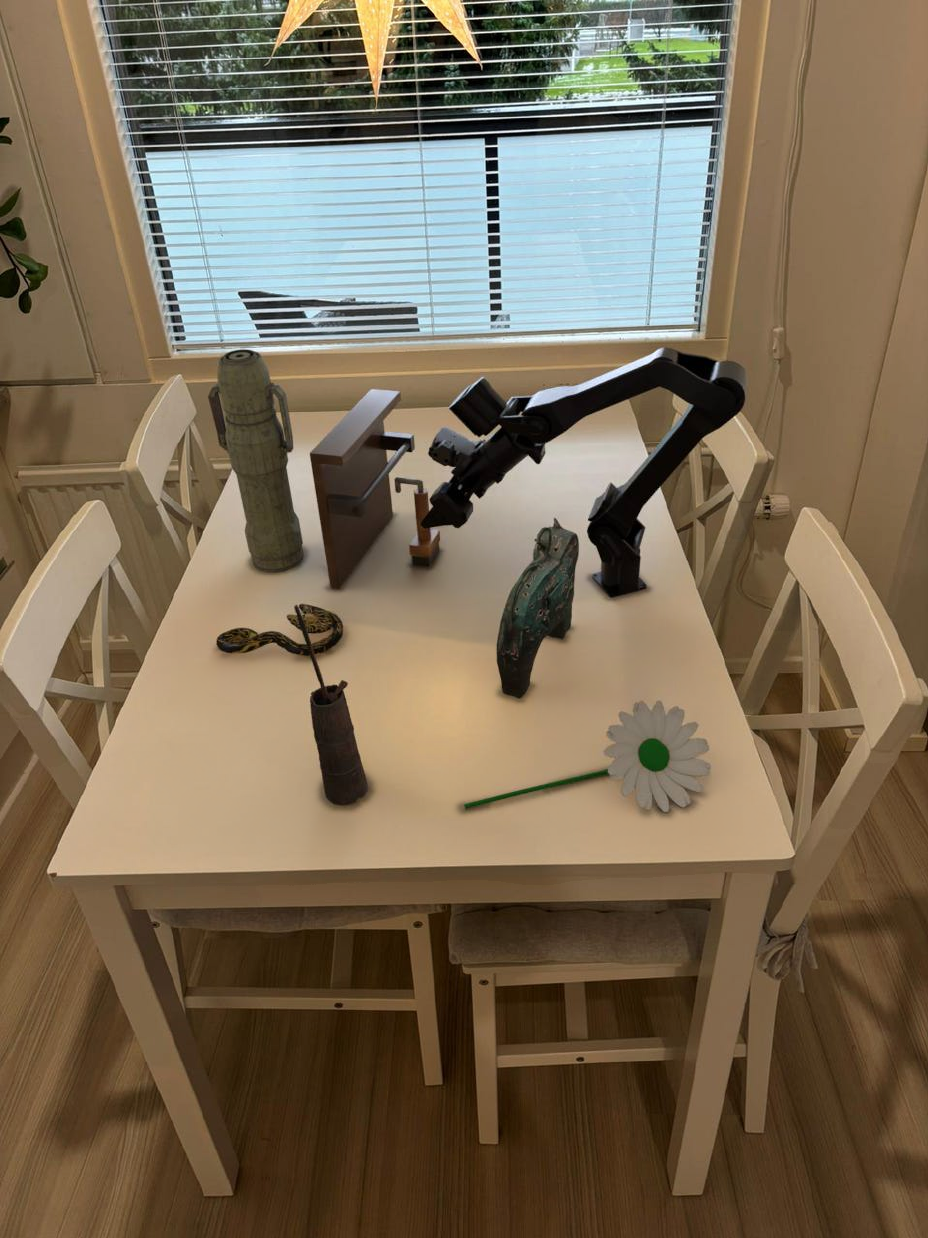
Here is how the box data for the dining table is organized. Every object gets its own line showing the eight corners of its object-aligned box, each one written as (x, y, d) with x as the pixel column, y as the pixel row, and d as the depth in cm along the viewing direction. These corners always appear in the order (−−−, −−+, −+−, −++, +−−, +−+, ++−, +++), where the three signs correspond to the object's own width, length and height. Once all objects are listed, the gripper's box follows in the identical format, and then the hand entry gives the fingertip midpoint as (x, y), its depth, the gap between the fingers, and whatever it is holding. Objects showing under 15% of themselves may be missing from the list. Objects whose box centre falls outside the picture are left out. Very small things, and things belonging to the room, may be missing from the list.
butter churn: (370, 746, 118) (344, 561, 101) (403, 794, 111) (381, 603, 95) (302, 774, 115) (264, 587, 98) (332, 825, 108) (296, 633, 91)
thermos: (250, 544, 159) (208, 344, 139) (317, 544, 158) (285, 343, 138) (236, 572, 152) (189, 366, 132) (306, 573, 151) (271, 365, 131)
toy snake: (206, 629, 131) (231, 594, 140) (210, 656, 134) (235, 620, 142) (329, 640, 129) (347, 604, 137) (331, 668, 131) (349, 630, 140)
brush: (441, 550, 155) (435, 472, 147) (430, 568, 151) (424, 489, 142) (407, 546, 157) (400, 469, 148) (396, 563, 152) (388, 485, 144)
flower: (450, 750, 108) (693, 685, 110) (451, 760, 113) (683, 697, 116) (480, 863, 104) (733, 792, 106) (480, 867, 109) (721, 800, 111)
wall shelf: (421, 518, 164) (410, 391, 150) (370, 594, 146) (353, 457, 132) (384, 514, 166) (371, 388, 152) (330, 588, 147) (309, 453, 133)
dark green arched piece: (547, 615, 139) (548, 497, 127) (587, 625, 137) (593, 506, 125) (488, 694, 125) (484, 570, 113) (532, 707, 123) (532, 582, 111)
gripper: (477, 391, 143) (415, 449, 153) (439, 443, 129) (373, 504, 139) (527, 443, 146) (462, 497, 155) (495, 500, 132) (426, 555, 141)
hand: (431, 511), depth 148 cm, fingers open, 9 cm apart
